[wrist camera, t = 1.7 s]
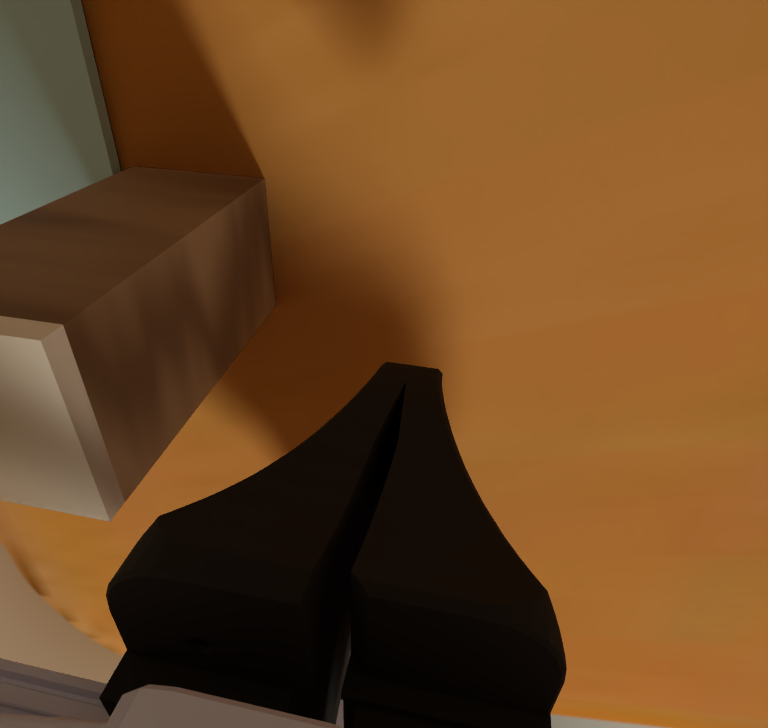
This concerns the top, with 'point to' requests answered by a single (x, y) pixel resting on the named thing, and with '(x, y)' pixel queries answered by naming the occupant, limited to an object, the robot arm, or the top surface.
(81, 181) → the mat
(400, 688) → the robot arm
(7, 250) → the walnut block
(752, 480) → the top surface
